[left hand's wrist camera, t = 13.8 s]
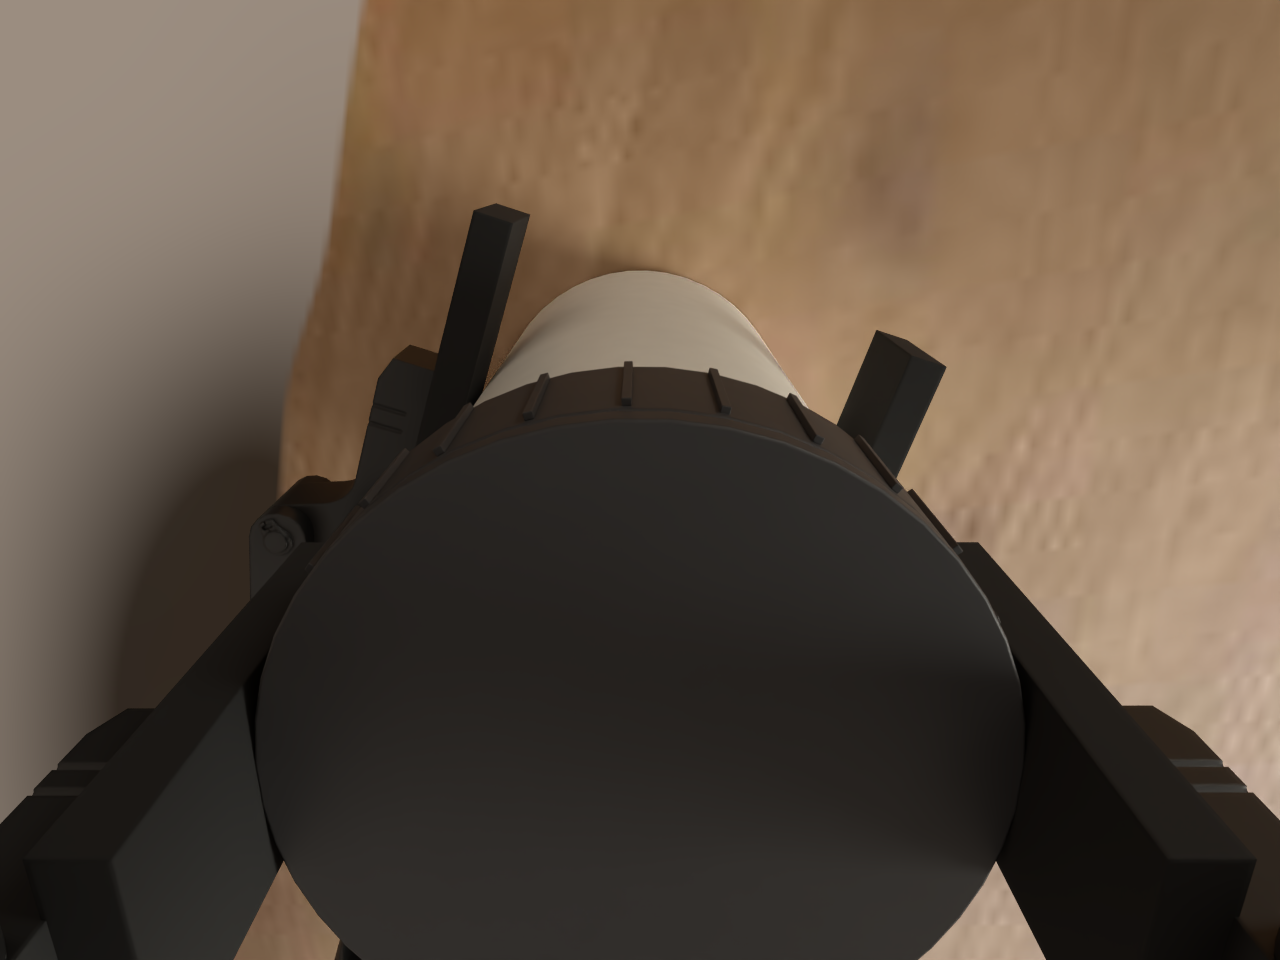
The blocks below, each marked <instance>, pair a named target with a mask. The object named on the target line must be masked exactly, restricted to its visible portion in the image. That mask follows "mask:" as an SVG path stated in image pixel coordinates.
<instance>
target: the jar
mask: <svg viewBox="0 0 1280 960" xmlns="http://www.w3.org/2000/svg"><path fill="white" fill-rule="evenodd" d="M624 361H633V367H669V368H677V369H684V370H692V371H699V372H707V373H708V372H709V368H714V369H718V372H719V374H720V376H724V377H728V378H731V379H735V380H739V381H742V382H746V383H750V384H754V385H757V386H759V387H762V388H764V389H767V390H769V391H771V392H774V393H776V394H779V395H781V396H783V397H786V398H787V397H788V395H789V393H792V394H794V395H796V396H797V397H798V399H799V400H800V402H801V403H802V405H803V406H805V407H806V408H808V407H807V405H806V404H805V402H804V401H803V399H802V398H801V396H800V395H799V393H798V392H797V390H796V389H795V387H794V386H793V384H792V383H791V381H790V380H789V378H788V377H787V375H786V374H785V372H784V371H783V369H782V368H781V366H780V365H779V363H778V362H777V360H776V359H775V357H774V356H773V355H772V353H771V352H770V350H769V349H768V347H767V346H766V344H765V343H764V341H763V340H762V338H761V337H760V335H759V334H758V332H757V331H756V330H755V328H754V327H753V326H752V324H751V323H750V322H749V320H748V319H747V318H746V317H745V316H744V315H743V314H742V313H741V312H740V311H739V310H738V309H737V308H736V307H735V306H734V305H733V304H732V303H730V302H729V301H728V300H726V299H725V298H724V297H722V296H721V295H720V294H718V293H717V292H715V291H713V290H711V289H709V288H708V287H706V286H704V285H702V284H700V283H697V282H695V281H692V280H690V279H688V278H685V277H681V276H677V275H673V274H669V273H664V272H656V271H624V272H617V273H611V274H606V275H603V276H600V277H596V278H593V279H590V280H588V281H585V282H583V283H581V284H579V285H576V286H574V287H572V288H571V289H569V290H567V291H566V292H564V293H563V294H561V295H559V296H558V297H556V298H555V299H554V300H553V301H552V302H550V303H549V304H548V305H547V306H545V307H544V308H543V309H542V310H541V311H540V312H539V313H538V314H537V315H536V317H535V318H534V319H533V320H532V321H531V322H530V323H529V325H528V326H527V328H526V329H525V330H524V332H523V333H522V335H521V336H520V338H519V339H518V341H517V342H516V344H515V345H514V347H513V348H512V350H511V351H510V352H509V354H508V355H507V357H506V358H505V360H504V361H503V363H502V364H501V366H500V367H499V369H498V370H497V372H496V373H495V375H494V376H493V378H492V379H491V381H490V382H489V384H488V385H487V387H486V388H485V390H484V391H483V393H482V394H481V396H480V397H479V399H478V400H477V401H476V403H475V404H474V406H473V407H475V406H477V405H479V404H481V403H482V402H484V401H486V400H489V399H491V398H494V397H496V396H499V395H501V394H504V393H506V392H509V391H511V390H514V389H516V388H518V387H521V386H523V385H526V384H529V383H533V382H537V381H538V378H539V376H540V375H541V374H544V373H548V374H549V377H550V378H552V377H556V376H560V375H564V374H568V373H572V372H580V371H588V370H596V369H604V368H612V367H624ZM808 409H809V408H808Z"/></svg>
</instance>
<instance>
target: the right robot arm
mask: <svg viewBox="0 0 1280 960" xmlns="http://www.w3.org/2000/svg"><path fill="white" fill-rule="evenodd" d="M529 217H530V214H527V213H524V212H521V211H518V210H515V209H512V208H509V207H506V206H503V205H500V204H497V203H496V204H493V205H490V206H486V207H483V208H480V209H477V210H474V211H473V215H472V219H471V223H470V227H469V231H468V235H467V239H466V244H465V248H464V252H463V256H462V260H461V264H460V268H459V272H458V276H457V280H456V284H455V288H454V292H453V296H452V300H451V304H450V308H449V312H448V316H447V320H446V324H445V329H444V333H443V337H442V341H441V345H440V349H439V353H435V352H432V351H428V350H425V349H422V348H419V347H416V346H412V345H409V346H408V347H407V348H405V349H404V350H403V351H402V352H400V353H399V354H398V355H397V356H396V357H394V358H393V359H392V361H391V362H390V363H389V365H388V366H387V367H386V369H385V370H384V371H383V373H382V374H381V375H380V377H379V378H378V382H377V386H376V390H375V395H374V399H373V406H372V408H371V413H370V417H369V423H368V426H367V430H366V435H365V439H364V444H363V448H362V453H361V457H360V461H359V466H358V470H357V475H356V479H354V480H350V481H337V482H331V481H329V480H328V479H327V478H324V477H320V476H317V475H316V476H306V477H304V478H302V479H300V480H298V481H297V482H296V483H295V484H294V485H293V486H292V487H291V488H290V489H289V490H288V491H287V492H286V493H285V494H284V495H282V496H281V497H280V498H279V499H278V500H277V501H276V502H275V503H274V504H273V505H272V506H271V507H270V508H269V509H268V510H267V511H266V512H264V513H263V514H262V515H261V516H260V517H259V518H258V519H257V520H256V522H255V523H254V524H253V525H252V527H251V530H250V535H249V552H250V553H249V554H250V600H251V599H252V598H253V597H254V596H255V594H256V593H257V592H258V591H259V590H260V589H261V588H262V586H263V585H264V584H265V583H266V582H267V581H268V580H269V579H270V577H271V576H272V575H273V574H274V573H275V572H276V571H277V569H278V568H279V567H280V566H281V565H282V564H283V563H284V561H285V560H286V559H287V558H288V557H289V556H290V555H291V554H292V552H293V551H294V550H295V549H296V548H297V547H298V546H299V544H300V543H301V542H326V541H327V540H328V539H329V538H330V536H331V535H332V534H333V533H334V532H335V530H336V529H337V528H338V527H339V525H340V524H341V523H342V522H343V521H344V519H345V518H346V517H347V516H348V514H349V513H350V512H351V511H352V510H353V508H354V507H355V506H356V505H358V506H359V507H361V506H360V505H359V502H360V501H361V500H362V498H363V497H364V496H365V495H366V493H367V492H368V491H369V490H370V489H371V487H372V486H373V485H374V484H375V482H376V481H377V480H378V479H379V478H380V476H381V475H382V474H383V473H384V471H385V470H386V469H387V468H388V467H389V465H390V464H391V463H392V462H393V460H394V459H395V458H396V457H397V455H398V454H399V453H400V452H401V451H402V450H403V449H404V448H406V449H407V450H408V451H409V452H410V451H411V450H412V449H414V448H415V447H416V446H417V445H419V444H420V443H421V442H423V441H424V440H425V439H426V438H428V437H429V436H430V435H432V434H433V433H434V432H435V431H437V430H438V429H439V428H441V427H442V426H443V425H445V424H446V423H448V422H449V421H451V420H453V419H454V418H455V417H456V416H457V415H458V413H459V412H460V410H461V409H462V408H463V406H464V405H466V404H468V403H471V404H472V406H474V404H475V403H476V401H477V400H478V399H479V397H480V396H481V394H482V392H483V388H484V384H485V381H486V377H487V373H488V370H489V366H490V362H491V358H492V355H493V351H494V347H495V343H496V340H497V336H498V332H499V329H500V325H501V321H502V317H503V314H504V310H505V306H506V303H507V299H508V295H509V291H510V288H511V284H512V280H513V276H514V273H515V269H516V265H517V262H518V258H519V254H520V250H521V247H522V243H523V239H524V236H525V232H526V228H527V224H528V221H529ZM945 370H946V366H944V365H943V364H941V363H940V362H938V361H937V360H935V359H934V358H933V357H931V356H930V355H928V354H927V353H925V352H924V351H922V350H921V349H919V348H918V347H916V346H915V345H914V344H912V343H911V342H909V341H908V340H905V339H902V338H899V337H896V336H893V335H890V334H887V333H884V332H881V331H878V330H876V332H875V335H874V337H873V340H872V342H871V344H870V347H869V349H868V352H867V354H866V356H865V359H864V361H863V364H862V366H861V368H860V371H859V373H858V375H857V378H856V380H855V383H854V385H853V387H852V390H851V392H850V395H849V397H848V399H847V402H846V404H845V407H844V409H843V411H842V414H841V416H840V419H839V421H838V423H837V426H838V427H839V428H841V429H842V430H843V431H845V432H846V433H847V434H848V435H850V436H851V437H852V438H853V439H855V438H856V437H857V435H860V436H862V437H863V438H864V439H865V440H866V442H867V443H868V444H869V445H870V447H871V448H872V449H873V450H874V452H875V453H876V454H877V455H878V457H879V458H880V459H881V460H882V462H883V463H884V464H885V465H886V467H887V468H888V469H889V470H890V472H891V473H892V474H893V475H894V477H895V478H897V476H898V473H899V471H900V469H901V467H902V465H903V462H904V460H905V458H906V456H907V453H908V451H909V449H910V447H911V445H912V442H913V440H914V438H915V436H916V434H917V431H918V429H919V427H920V425H921V423H922V420H923V418H924V416H925V414H926V412H927V409H928V407H929V405H930V403H931V400H932V398H933V396H934V394H935V392H936V389H937V387H938V385H939V383H940V381H941V378H942V376H943V374H944V372H945ZM335 960H362V959H361V958H359V957H358V956H357V955H356V954H355V953H354V952H353V951H351V950H350V949H349V948H348V947H347V946H346V945H345V944H344V943H343V942H342V941H341V940H340V941H339V945H338V949H337V953H336V956H335Z"/></svg>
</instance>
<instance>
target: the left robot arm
mask: <svg viewBox="0 0 1280 960" xmlns="http://www.w3.org/2000/svg"><path fill="white" fill-rule="evenodd" d="M325 543H326V542H301V543H300V544H299V546H298V547H297V548H296V549H295V550H294V551H293V552H292V554H291V555H290V556H289V557H288V558H287V559H286V560H285V561H284V563H283V564H282V565H281V566H280V567H279V568H278V569H277V571H276V572H275V573H274V574H273V575H272V576H271V577H270V579H269V580H268V581H267V582H266V583H265V584H264V585H263V586H262V588H261V589H260V590H259V591H258V592H257V593H256V594H255V596H254V597H253V598H252V599H251V600H250V601H249V602H248V604H247V605H246V606H245V607H244V608H243V609H242V610H241V612H240V613H239V614H238V615H237V616H236V617H235V618H234V620H233V621H232V622H231V623H230V624H229V625H228V626H227V627H226V629H225V630H224V631H223V632H222V633H221V634H220V635H219V636H218V638H217V639H216V640H215V641H214V642H213V643H212V644H211V646H210V647H209V648H208V649H207V650H206V651H205V652H204V654H203V655H202V656H201V657H200V658H199V659H198V660H197V661H196V663H195V664H194V665H193V666H192V667H191V668H190V669H189V671H188V672H187V673H186V674H185V675H184V676H183V677H182V679H181V680H180V681H179V682H178V683H177V684H176V685H175V686H174V688H173V689H172V690H171V691H170V692H169V693H168V694H167V696H166V697H165V698H164V699H163V700H162V701H161V702H160V704H159V705H158V706H157V707H156V708H155V709H126V710H125V711H123V712H122V713H120V714H118V715H117V716H115V717H113V718H112V719H110V720H109V721H107V722H105V723H104V724H102V725H101V726H99V727H97V728H96V729H94V730H93V731H91V732H89V733H88V734H86V735H85V736H84V737H83V738H82V740H81V741H80V742H79V743H78V744H77V745H76V746H75V747H74V748H73V749H72V750H71V751H70V752H69V753H68V754H67V755H66V756H65V757H64V758H63V759H62V760H61V761H60V762H59V763H58V768H57V770H52V771H51V772H50V773H49V774H48V775H47V776H46V777H45V778H44V779H43V780H42V781H41V782H40V783H39V784H38V785H37V786H36V787H35V788H34V793H33V795H32V796H27V797H26V798H25V799H24V800H23V801H22V802H21V803H20V804H19V805H18V806H17V807H16V808H15V809H14V810H13V811H12V812H11V813H10V814H9V816H8V817H7V818H6V819H5V820H4V821H3V822H2V823H1V824H0V960H233V959H234V957H235V956H236V954H237V952H238V950H239V948H240V946H241V944H242V942H243V940H244V938H245V936H246V934H247V932H248V930H249V928H250V926H251V924H252V922H253V920H254V918H255V916H256V914H257V912H258V910H259V908H260V906H261V904H262V902H263V900H264V898H265V896H266V894H267V892H268V890H269V888H270V886H271V884H272V882H273V881H274V879H275V877H276V875H277V873H278V871H279V869H280V867H281V865H282V863H283V861H284V860H283V858H282V856H281V854H280V852H279V850H278V848H277V846H276V844H275V841H274V838H273V835H272V832H271V829H270V826H269V823H268V820H267V817H266V814H265V811H264V808H263V804H262V799H261V793H260V788H259V782H258V777H257V771H256V766H255V723H254V720H255V713H256V706H257V700H258V693H259V686H260V679H261V675H262V672H263V669H264V666H265V662H266V659H267V656H268V653H269V650H270V646H271V643H272V640H273V637H274V634H275V632H276V630H277V628H278V626H279V624H280V622H281V620H282V618H283V616H284V614H285V612H286V610H287V608H288V606H289V604H290V602H291V600H292V598H293V596H294V594H295V593H296V592H297V590H298V589H299V587H300V586H301V585H302V583H303V582H304V580H305V579H306V578H307V576H308V575H309V572H307V571H305V568H306V566H307V565H308V563H309V562H310V561H311V560H312V558H313V557H314V556H315V555H316V554H317V552H318V551H319V550H320V549H321V547H322V546H323V545H324V544H325ZM957 544H958V545H959V546H960V547H961V549H962V550H963V552H962V553H960V554H958V557H959V558H960V559H961V561H962V562H963V564H964V565H965V566H966V568H967V569H968V571H969V572H970V574H971V575H972V576H973V578H974V579H975V581H976V582H977V584H978V585H979V587H980V588H981V589H982V591H983V592H984V594H985V595H986V597H987V598H988V600H989V602H990V604H991V607H992V609H993V610H994V611H995V613H996V614H997V615H998V617H999V619H1000V622H1001V623H1000V625H1001V627H1002V629H1003V631H1004V633H1005V635H1006V637H1007V640H1008V643H1009V647H1010V650H1011V653H1012V657H1013V660H1014V663H1015V666H1016V670H1017V673H1018V676H1019V680H1020V686H1021V693H1022V701H1023V708H1024V716H1025V724H1026V727H1025V760H1024V770H1023V775H1022V780H1021V786H1020V791H1019V797H1018V802H1017V808H1016V812H1015V814H1014V817H1013V820H1012V823H1011V826H1010V829H1009V832H1008V834H1007V837H1006V840H1005V843H1004V846H1003V848H1002V850H1001V852H1000V854H999V856H998V858H997V860H996V862H997V864H998V866H999V868H1000V870H1001V872H1002V874H1003V876H1004V877H1005V879H1006V881H1007V883H1008V885H1009V887H1010V889H1011V891H1012V893H1013V895H1014V897H1015V899H1016V901H1017V903H1018V905H1019V907H1020V909H1021V911H1022V913H1023V915H1024V917H1025V919H1026V921H1027V923H1028V925H1029V927H1030V929H1031V931H1032V933H1033V935H1034V937H1035V939H1036V941H1037V943H1038V945H1039V947H1040V949H1041V951H1042V953H1043V954H1044V956H1045V958H1046V960H1280V820H1279V819H1278V818H1277V817H1276V816H1275V815H1274V814H1273V813H1272V812H1271V811H1270V810H1269V809H1268V808H1267V807H1266V806H1265V805H1264V804H1263V802H1262V801H1261V800H1260V799H1259V798H1258V797H1257V796H1256V795H1255V794H1254V793H1248V792H1247V786H1246V785H1245V784H1244V783H1243V782H1242V781H1241V780H1240V779H1239V778H1238V777H1237V776H1236V775H1235V774H1234V772H1233V771H1232V770H1231V769H1230V768H1229V767H1223V764H1222V760H1221V759H1220V758H1219V757H1218V756H1217V755H1216V754H1215V753H1214V752H1213V751H1212V750H1211V749H1210V748H1209V747H1208V746H1207V745H1206V743H1205V742H1204V741H1203V740H1202V739H1201V738H1200V737H1199V736H1198V735H1197V734H1196V733H1195V732H1194V731H1192V730H1191V729H1189V728H1188V727H1186V726H1184V725H1183V724H1181V723H1180V722H1178V721H1176V720H1175V719H1173V718H1171V717H1170V716H1168V715H1167V714H1165V713H1163V712H1162V711H1160V710H1159V709H1157V708H1155V707H1154V706H1122V705H1121V704H1120V703H1119V702H1118V701H1117V700H1116V698H1115V697H1114V696H1113V695H1112V694H1111V693H1110V692H1109V690H1108V689H1107V688H1106V687H1105V686H1104V685H1103V684H1102V683H1101V681H1100V680H1099V679H1098V678H1097V677H1096V676H1095V675H1094V673H1093V672H1092V671H1091V670H1090V669H1089V668H1088V667H1087V665H1086V664H1085V663H1084V662H1083V661H1082V660H1081V659H1080V658H1079V656H1078V655H1077V654H1076V653H1075V652H1074V651H1073V650H1072V648H1071V647H1070V646H1069V645H1068V644H1067V643H1066V642H1065V640H1064V639H1063V638H1062V637H1061V636H1060V635H1059V634H1058V633H1057V631H1056V630H1055V629H1054V628H1053V627H1052V626H1051V625H1050V623H1049V622H1048V621H1047V620H1046V619H1045V618H1044V617H1043V615H1042V614H1041V613H1040V612H1039V611H1038V610H1037V609H1036V608H1035V606H1034V605H1033V604H1032V603H1031V602H1030V601H1029V600H1028V598H1027V597H1026V596H1025V595H1024V594H1023V593H1022V592H1021V590H1020V589H1019V588H1018V587H1017V586H1016V585H1015V584H1014V583H1013V581H1012V580H1011V579H1010V578H1009V577H1008V576H1007V575H1006V573H1005V572H1004V571H1003V570H1002V569H1001V568H1000V567H999V565H998V564H997V563H996V562H995V561H994V560H993V559H992V558H991V556H990V555H989V554H988V553H987V552H986V551H985V550H984V548H983V547H982V546H981V545H980V544H979V543H978V542H957Z"/></svg>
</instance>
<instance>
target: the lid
mask: <svg viewBox="0 0 1280 960" xmlns="http://www.w3.org/2000/svg"><path fill="white" fill-rule="evenodd" d="M359 505H360V506H361V507H359V506H358V505H356V506H355V507H354V508H353V510H352V511H351V512H350V513H349V514H348V516H347V517H346V518H345V519H344V521H343V522H342V523H341V524H340V525H339V527H338V528H337V529H336V530H335V532H334V533H333V534H332V535H331V536H330V538H329V539H328V540H327V541H326V543H325V544H324V545H323V546H322V547H321V549H320V550H319V551H318V552H317V554H316V555H315V556H314V557H313V558H312V560H311V561H310V562H309V563H308V565H307V566H306V568H305V571H307V572H309V575H308V576H307V578H306V579H305V580H304V582H303V583H302V585H301V586H300V587H299V589H298V590H297V592H296V593H295V594H294V596H293V598H292V600H291V602H290V604H289V606H288V608H287V610H286V612H285V614H284V616H283V618H282V620H281V622H280V624H279V626H278V628H277V630H276V632H275V634H274V637H273V640H272V643H271V646H270V650H269V653H268V656H267V659H266V662H265V666H264V669H263V672H262V675H261V679H260V686H259V693H258V700H257V706H256V713H255V720H254V723H255V766H256V771H257V777H258V782H259V788H260V793H261V799H262V804H263V808H264V811H265V814H266V817H267V820H268V823H269V826H270V829H271V832H272V835H273V838H274V841H275V844H276V846H277V848H278V850H279V852H280V854H281V856H282V858H283V860H284V862H285V864H286V866H287V868H288V870H289V872H290V874H291V875H292V877H293V879H294V881H295V883H296V884H297V886H298V887H299V888H300V890H301V891H302V893H303V894H304V896H305V897H306V899H307V900H308V901H309V903H310V904H311V906H312V907H313V909H314V910H315V911H316V913H317V914H318V916H319V917H320V918H321V919H322V920H323V921H324V922H325V923H326V924H327V925H328V927H329V928H330V929H331V930H332V931H333V932H334V933H335V934H336V935H337V937H338V938H339V939H340V940H341V941H342V942H343V943H344V944H345V945H346V946H347V947H348V948H349V949H350V950H351V951H353V952H354V953H355V954H356V955H357V956H358V957H359V958H361V959H362V960H918V959H919V958H921V957H922V956H923V955H924V954H925V953H926V952H928V951H929V950H930V949H931V948H932V947H933V946H934V945H935V944H936V943H937V942H938V941H939V940H940V938H941V937H942V936H943V935H944V934H945V933H946V932H947V931H948V930H949V929H950V928H951V927H952V926H953V924H954V923H955V922H956V921H957V920H958V919H959V918H960V917H961V915H962V914H963V912H964V911H965V910H966V908H967V907H968V905H969V904H970V903H971V901H972V900H973V898H974V897H975V896H976V894H977V893H978V891H979V890H980V889H981V887H982V886H983V884H984V883H985V881H986V879H987V877H988V875H989V873H990V871H991V869H992V867H993V865H994V864H995V862H996V860H997V858H998V856H999V854H1000V852H1001V850H1002V848H1003V846H1004V843H1005V840H1006V837H1007V834H1008V832H1009V829H1010V826H1011V823H1012V820H1013V817H1014V814H1015V812H1016V808H1017V802H1018V797H1019V791H1020V786H1021V780H1022V775H1023V770H1024V760H1025V727H1026V724H1025V716H1024V708H1023V701H1022V693H1021V686H1020V680H1019V676H1018V673H1017V670H1016V666H1015V663H1014V660H1013V657H1012V653H1011V650H1010V647H1009V643H1008V640H1007V637H1006V635H1005V633H1004V631H1003V629H1002V627H1001V625H1000V623H1001V622H1000V619H999V617H998V615H997V614H996V613H995V611H994V610H993V609H992V607H991V604H990V602H989V600H988V598H987V597H986V595H985V594H984V592H983V591H982V589H981V588H980V587H979V585H978V584H977V582H976V581H975V579H974V578H973V576H972V575H971V574H970V572H969V571H968V569H967V568H966V566H965V565H964V564H963V562H962V561H961V559H960V558H959V557H958V554H960V553H962V552H963V550H962V549H961V547H960V546H959V545H958V544H957V542H956V541H955V540H954V539H953V538H952V536H951V535H950V534H949V533H948V531H947V530H946V529H945V528H944V527H943V525H942V524H941V523H940V522H939V520H938V519H937V518H936V517H935V516H934V514H933V513H932V512H931V511H930V510H929V508H928V507H927V506H926V505H925V503H924V502H923V501H922V500H921V499H920V497H919V496H918V495H917V494H916V493H915V491H914V490H913V489H911V490H909V491H908V492H907V491H906V490H905V489H904V488H903V486H902V485H901V484H900V483H899V482H898V480H897V479H896V478H895V477H894V475H893V474H892V473H891V472H890V470H889V469H888V468H887V467H886V465H885V464H884V463H883V462H882V460H881V459H880V458H879V457H878V455H877V454H876V453H875V452H874V450H873V449H872V448H871V447H870V445H869V444H868V443H867V442H866V440H865V439H864V438H863V437H862V436H860V435H857V437H856V438H855V439H853V438H852V437H851V436H850V435H848V434H847V433H846V432H845V431H843V430H842V429H841V428H839V427H838V426H837V425H835V424H834V423H832V422H830V421H829V420H827V419H825V418H823V417H822V416H820V415H818V414H817V413H815V412H813V411H812V410H810V409H808V408H806V407H805V406H803V405H802V403H801V402H800V400H799V399H798V397H797V396H796V395H794V394H792V393H789V395H788V397H787V398H786V397H783V396H781V395H779V394H776V393H774V392H771V391H769V390H767V389H764V388H762V387H759V386H757V385H754V384H750V383H746V382H742V381H739V380H735V379H731V378H728V377H724V376H720V374H719V372H718V369H714V368H709V372H708V373H707V372H699V371H692V370H684V369H677V368H669V367H633V361H624V367H612V368H604V369H596V370H588V371H580V372H572V373H568V374H564V375H560V376H556V377H552V378H550V377H549V374H548V373H544V374H541V375H540V376H539V378H538V381H537V382H533V383H529V384H526V385H523V386H521V387H518V388H516V389H514V390H511V391H509V392H506V393H504V394H501V395H499V396H496V397H494V398H491V399H489V400H486V401H484V402H482V403H481V404H479V405H477V406H475V407H473V406H472V404H471V403H468V404H466V405H464V406H463V408H462V409H461V410H460V412H459V413H458V415H457V416H456V417H455V418H454V419H453V420H451V421H449V422H448V423H446V424H445V425H443V426H442V427H441V428H439V429H438V430H437V431H435V432H434V433H433V434H432V435H430V436H429V437H428V438H426V439H425V440H424V441H423V442H421V443H420V444H419V445H417V446H416V447H415V448H414V449H412V450H411V451H410V452H409V451H408V450H407V449H406V448H404V449H403V450H402V451H401V452H400V453H399V454H398V455H397V457H396V458H395V459H394V460H393V462H392V463H391V464H390V465H389V467H388V468H387V469H386V470H385V471H384V473H383V474H382V475H381V476H380V478H379V479H378V480H377V481H376V482H375V484H374V485H373V486H372V487H371V489H370V490H369V491H368V492H367V493H366V495H365V496H364V497H363V498H362V500H361V501H360V502H359Z"/></svg>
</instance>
